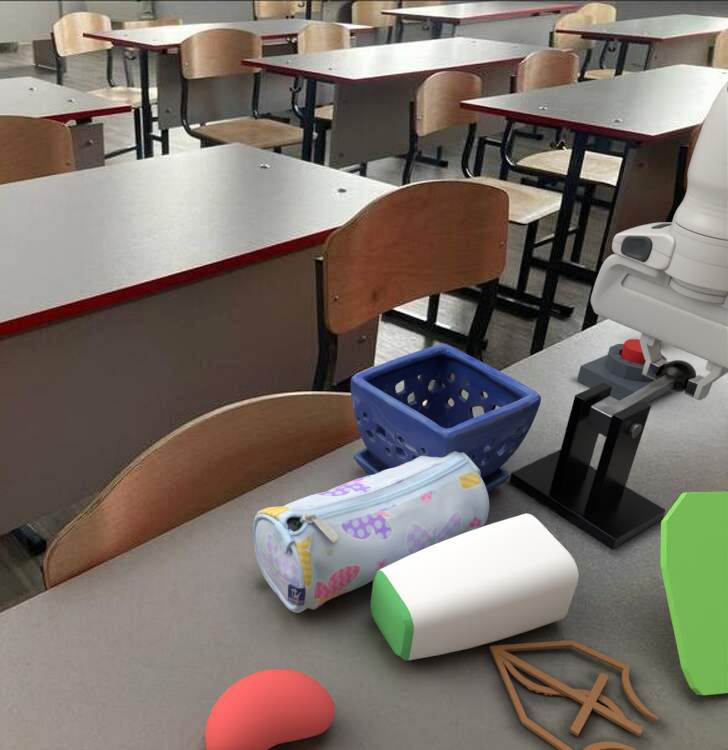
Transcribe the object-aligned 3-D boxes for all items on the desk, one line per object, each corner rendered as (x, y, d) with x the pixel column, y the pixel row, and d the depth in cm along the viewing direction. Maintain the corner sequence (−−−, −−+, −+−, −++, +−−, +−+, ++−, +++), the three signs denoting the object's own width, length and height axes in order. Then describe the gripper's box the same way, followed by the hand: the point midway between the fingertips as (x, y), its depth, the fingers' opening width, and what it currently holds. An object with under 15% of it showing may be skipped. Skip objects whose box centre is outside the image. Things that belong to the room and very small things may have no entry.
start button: (632, 348, 100) (635, 336, 99) (658, 360, 98) (662, 347, 97) (614, 355, 98) (618, 343, 98) (641, 367, 96) (645, 355, 95)
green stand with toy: (802, 489, 66) (740, 500, 72) (651, 493, 63) (599, 504, 69) (852, 680, 62) (782, 676, 68) (693, 696, 59) (633, 689, 64)
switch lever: (668, 377, 82) (675, 350, 80) (698, 390, 80) (706, 363, 78) (580, 427, 76) (586, 400, 74) (610, 443, 74) (617, 415, 72)
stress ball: (325, 685, 52) (322, 645, 58) (191, 710, 52) (203, 668, 59) (343, 761, 52) (338, 713, 58) (209, 784, 53) (218, 735, 59)
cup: (366, 552, 63) (524, 504, 67) (359, 611, 67) (509, 563, 71) (414, 623, 57) (584, 567, 61) (403, 684, 61) (563, 627, 65)
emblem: (626, 789, 53) (623, 795, 53) (671, 688, 59) (668, 694, 60) (460, 688, 59) (458, 694, 60) (517, 607, 66) (515, 613, 66)
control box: (624, 360, 105) (632, 333, 103) (682, 386, 99) (691, 358, 97) (576, 380, 100) (583, 352, 98) (634, 409, 95) (643, 380, 93)
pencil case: (291, 638, 64) (297, 549, 59) (240, 570, 70) (242, 484, 66) (487, 555, 72) (506, 471, 68) (425, 501, 79) (438, 421, 74)
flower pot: (428, 542, 74) (447, 436, 68) (337, 469, 84) (347, 371, 78) (523, 494, 80) (547, 394, 74) (428, 432, 90) (443, 338, 84)
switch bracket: (558, 457, 86) (583, 362, 80) (662, 519, 77) (699, 417, 71) (508, 482, 82) (531, 383, 76) (612, 549, 73) (647, 444, 68)
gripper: (859, 288, 67) (798, 425, 74) (637, 219, 82) (604, 339, 89) (823, 304, 64) (763, 445, 71) (599, 230, 79) (568, 353, 86)
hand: (673, 385), depth 80 cm, fingers closed on switch lever, 3 cm apart
